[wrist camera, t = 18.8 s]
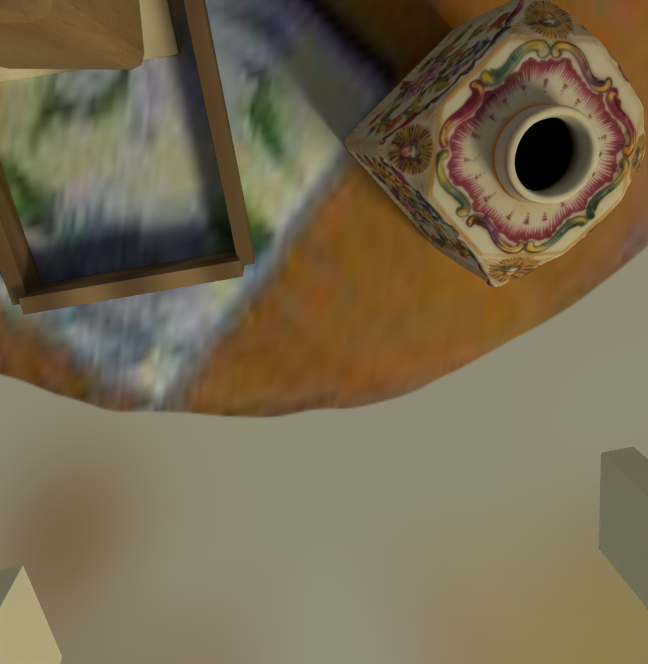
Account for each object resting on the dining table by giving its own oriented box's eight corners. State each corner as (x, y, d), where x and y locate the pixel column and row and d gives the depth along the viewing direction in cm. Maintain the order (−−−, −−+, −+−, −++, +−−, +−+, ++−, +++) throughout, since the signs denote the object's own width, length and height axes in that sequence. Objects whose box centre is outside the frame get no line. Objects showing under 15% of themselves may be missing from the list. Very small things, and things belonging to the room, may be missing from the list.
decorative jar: (433, 251, 47) (530, 319, 30) (337, 144, 43) (386, 153, 26) (546, 145, 45) (717, 154, 28) (455, 24, 41) (589, -49, 24)
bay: (171, -169, 36) (161, -204, 32) (256, 262, 46) (256, 274, 42) (-120, -130, 35) (-165, -161, 31) (31, 301, 45) (9, 316, 41)
